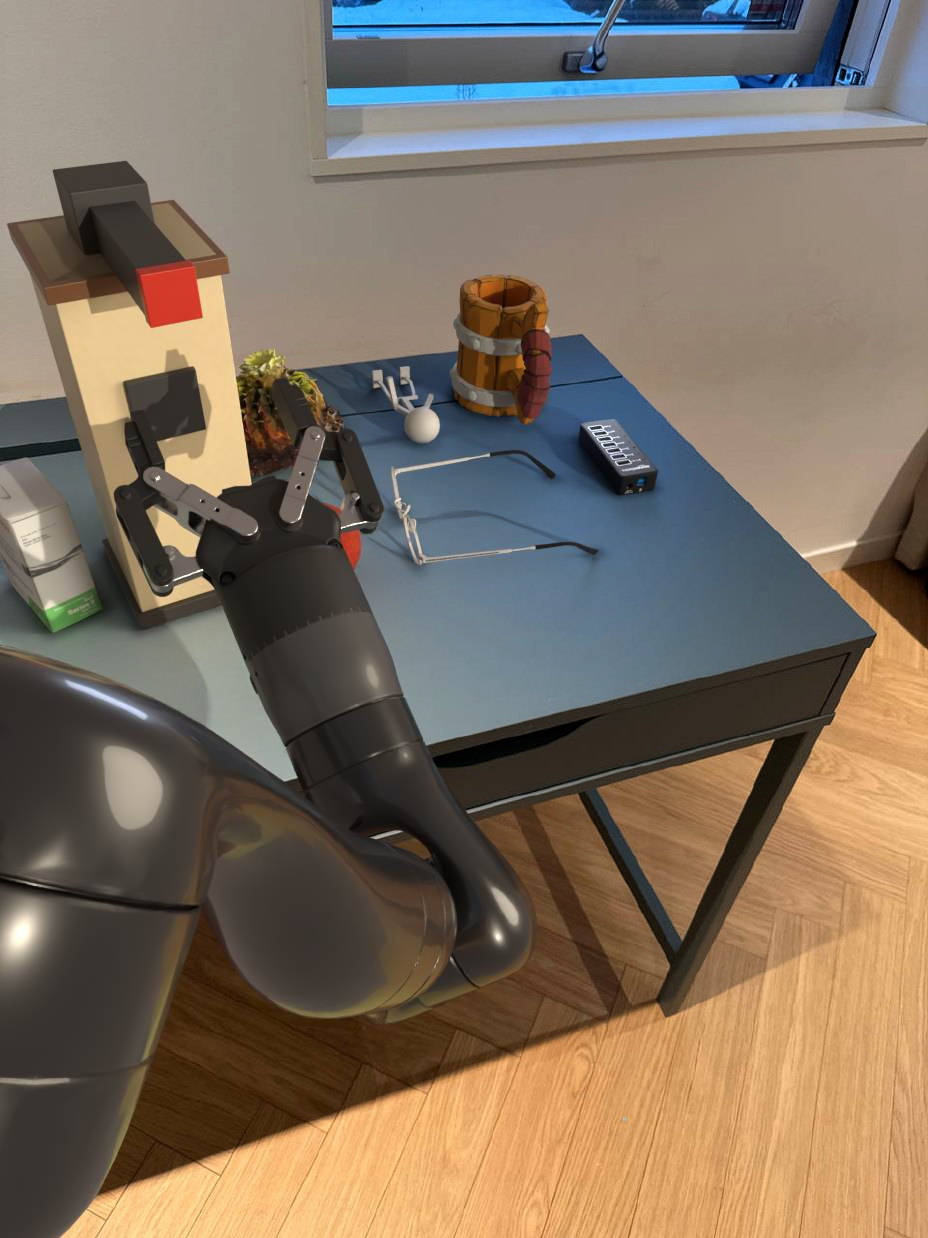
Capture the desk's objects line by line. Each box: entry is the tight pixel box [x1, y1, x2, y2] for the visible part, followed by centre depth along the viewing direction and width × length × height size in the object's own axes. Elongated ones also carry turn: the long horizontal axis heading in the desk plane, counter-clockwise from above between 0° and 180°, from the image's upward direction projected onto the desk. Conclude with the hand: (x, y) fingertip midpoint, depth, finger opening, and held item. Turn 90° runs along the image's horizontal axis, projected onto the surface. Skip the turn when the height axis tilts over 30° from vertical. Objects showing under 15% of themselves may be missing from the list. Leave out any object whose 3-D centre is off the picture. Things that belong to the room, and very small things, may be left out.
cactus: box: [236, 348, 345, 478], centre depth 97 cm, size 17×16×10 cm
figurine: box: [371, 365, 441, 444], centre depth 103 cm, size 6×6×15 cm
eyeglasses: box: [390, 449, 600, 566], centre depth 88 cm, size 16×19×5 cm
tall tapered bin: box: [6, 199, 253, 631], centre depth 73 cm, size 12×12×30 cm
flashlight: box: [52, 160, 203, 328], centre depth 58 cm, size 5×17×4 cm, turn 30°
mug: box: [448, 274, 553, 426], centre depth 102 cm, size 11×16×15 cm, turn 24°
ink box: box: [0, 457, 103, 634], centre depth 76 cm, size 9×5×12 cm, turn 42°
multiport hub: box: [577, 418, 659, 496], centre depth 98 cm, size 4×11×2 cm, turn 18°
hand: (209, 400), depth 53 cm, fingers open, 8 cm apart
